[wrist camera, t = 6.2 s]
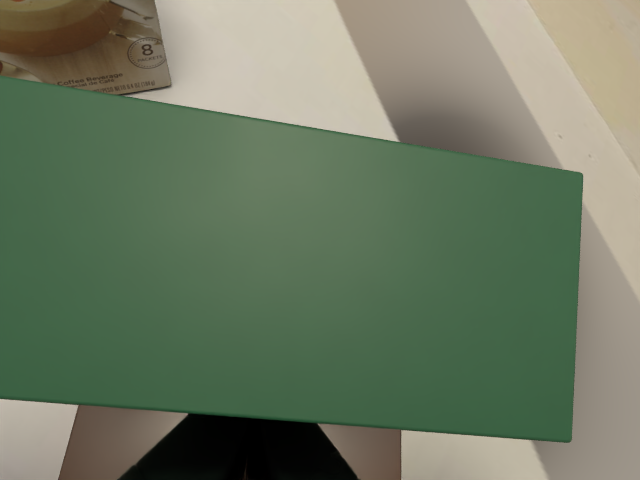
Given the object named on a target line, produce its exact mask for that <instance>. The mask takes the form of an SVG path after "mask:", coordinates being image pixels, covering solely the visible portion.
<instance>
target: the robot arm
mask: <svg viewBox="0 0 640 480" xmlns="http://www.w3.org/2000/svg"><path fill="white" fill-rule="evenodd" d="M246 462H247V463H246ZM245 469H246V474H245ZM244 476H245V480H361V479H358V475H357V474H356V473H355V472H354V470H353V469H352V468H351V466H350V465H349V464H348V462H347V461H346V460H345V459H344V457H343V456H342V455H341V453H340V452H339V451H338V450H337V448H336V447H335V446H334V444H333V443H332V442H331V440H330V439H329V438H328V437H327V435H326V434H325V433H324V431H323V430H322V429H321V427H320V426H319V425H318V424H317V423H306V422H293V421H280V420H267V419H254V418H241V417H228V416H215V415H203V414H190V413H189V414H188V415H187V416H186V417H185V418H184V419H183V420H181V421H180V422H179V423H178V424H177V425H176V426H175V427H174V428H173V429H172V430H171V431H170V432H168V433H167V434H166V435H165V436H164V437H163V438H162V439H161V440H160V441H159V442H158V443H157V444H155V445H154V446H153V447H152V448H151V449H150V450H149V451H148V452H147V453H146V454H145V455H143V456H142V457H141V458H140V459H139V460H138V461H137V462H136V463H135V465H132V466H131V467H129V468H128V469H127V470H126V471H125V472H124V473H123V474H122V475H121V476H120V477H119V478H117V479H116V480H244Z"/></svg>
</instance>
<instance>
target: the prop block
mask: <svg viewBox="0 0 640 480" xmlns="http://www.w3.org/2000/svg"><path fill="white" fill-rule="evenodd" d="M188 414H189V413H177V412H164V411H151V410H138V409H125V408H112V407H99V406H86V405H79V406H78V410H77V413H76V417H75V420H74V424H73V428H72V431H71V435H70V439H69V442H68V446H67V449H66V453H65V457H64V460H63V464H62V468H61V471H60V475H59V478H58V480H116V479H117V478H119V477H120V476H121V475H122V474H123V473H124V472H125V471H126V470H127V469H128V468H129V467H131V466H132V465H135V463H136V462H137V461H138V460H139V459H140V458H141V457H142V456H143V455H145V454H146V453H147V452H148V451H149V450H150V449H151V448H152V447H153V446H154V445H155V444H157V443H158V442H159V441H160V440H161V439H162V438H163V437H164V436H165V435H166V434H167V433H168V432H170V431H171V430H172V429H173V428H174V427H175V426H176V425H177V424H178V423H179V422H180V421H181V420H183V419H184V418H185V417H186V416H187V415H188ZM317 424H318V425H319V426H320V427H321V429H322V430H323V431H324V433H325V434H326V435H327V437H328V438H329V439H330V440H331V442H332V443H333V444H334V446H335V447H336V448H337V450H338V451H339V452H340V453H341V455H342V456H343V457H344V459H345V460H346V461H347V462H348V464H349V465H350V466H351V468H352V469H353V470H354V472H355V473H356V474H357V475H358V479H361V480H401V430H396V429H383V428H370V427H358V426H345V425H332V424H319V423H317ZM246 463H247V462H246ZM245 474H246V469H245ZM244 480H245V476H244Z"/></svg>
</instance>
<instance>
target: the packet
mask: <svg viewBox="0 0 640 480" xmlns="http://www.w3.org/2000/svg"><path fill="white" fill-rule="evenodd" d="M582 192H583V174H582V173H580V172H574V171H568V170H562V169H556V168H550V167H544V166H538V165H532V164H526V163H520V162H514V161H508V160H503V159H497V158H491V157H484V156H478V155H472V154H467V153H460V152H455V151H449V150H443V149H437V148H431V147H425V146H419V145H412V144H406V143H401V142H395V141H389V140H383V139H377V138H371V137H365V136H359V135H353V134H347V133H341V132H335V131H329V130H323V129H317V128H311V127H305V126H299V125H293V124H287V123H281V122H275V121H269V120H263V119H257V118H251V117H245V116H239V115H234V114H228V113H222V112H216V111H210V110H204V109H198V108H192V107H186V106H180V105H174V104H168V103H162V102H156V101H150V100H144V99H138V98H132V97H126V96H120V95H114V94H108V93H102V92H96V91H90V90H84V89H78V88H72V87H66V86H60V85H54V84H48V83H42V82H36V81H30V80H24V79H18V78H12V77H6V76H0V399H9V400H22V401H35V402H47V403H60V404H73V405H86V406H99V407H112V408H125V409H138V410H151V411H164V412H177V413H190V414H203V415H215V416H228V417H241V418H254V419H267V420H280V421H293V422H306V423H319V424H332V425H345V426H358V427H370V428H383V429H396V430H409V431H422V432H435V433H448V434H461V435H474V436H487V437H500V438H513V439H526V440H538V441H552V442H564V443H568V442H571V440H572V420H573V396H574V374H575V351H576V350H575V349H576V328H577V306H578V304H577V303H578V282H579V260H580V237H581V215H582Z"/></svg>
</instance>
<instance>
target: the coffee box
mask: <svg viewBox="0 0 640 480" xmlns="http://www.w3.org/2000/svg"><path fill="white" fill-rule="evenodd" d="M0 76H6V77H12V78H18V79H24V80H30V81H36V82H42V83H48V84H54V85H60V86H66V87H72V88H78V89H84V90H90V91H96V92H102V93H108V94H114V95H118V94H124V93H130V92H136V91H142V90H148V89H154V88H159V87H165V86H169V85H170V84H171V78H170V74H169V69H168V65H167V60H166V55H165V50H164V45H163V40H162V35H161V30H160V25H159V20H158V15H157V10H156V5H155V0H0Z"/></svg>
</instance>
